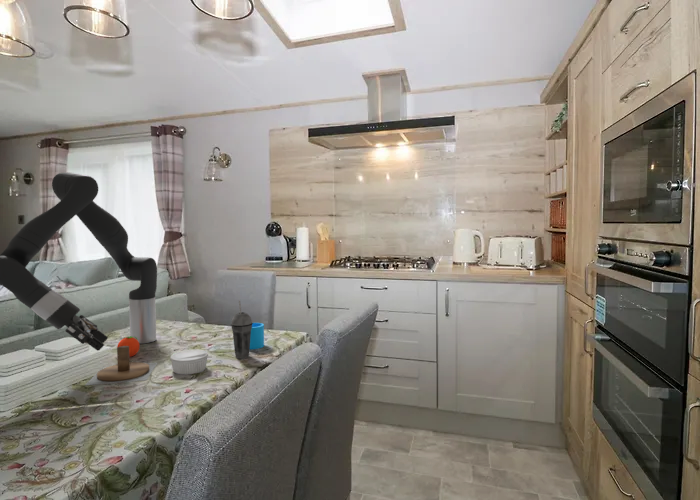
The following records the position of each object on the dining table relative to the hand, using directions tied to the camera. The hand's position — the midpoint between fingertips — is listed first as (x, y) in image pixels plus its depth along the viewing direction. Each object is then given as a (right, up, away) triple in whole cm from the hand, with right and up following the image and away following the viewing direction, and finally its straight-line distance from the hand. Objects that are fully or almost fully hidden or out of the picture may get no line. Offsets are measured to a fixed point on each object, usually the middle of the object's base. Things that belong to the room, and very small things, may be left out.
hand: (103, 344), depth 122 cm
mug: (+37, -9, +35) cm, 51 cm away
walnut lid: (+5, -9, +3) cm, 11 cm away
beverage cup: (+36, -9, +20) cm, 43 cm away
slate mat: (+5, -10, +3) cm, 11 cm away
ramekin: (+23, -10, +7) cm, 26 cm away
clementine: (-3, -9, +20) cm, 22 cm away
